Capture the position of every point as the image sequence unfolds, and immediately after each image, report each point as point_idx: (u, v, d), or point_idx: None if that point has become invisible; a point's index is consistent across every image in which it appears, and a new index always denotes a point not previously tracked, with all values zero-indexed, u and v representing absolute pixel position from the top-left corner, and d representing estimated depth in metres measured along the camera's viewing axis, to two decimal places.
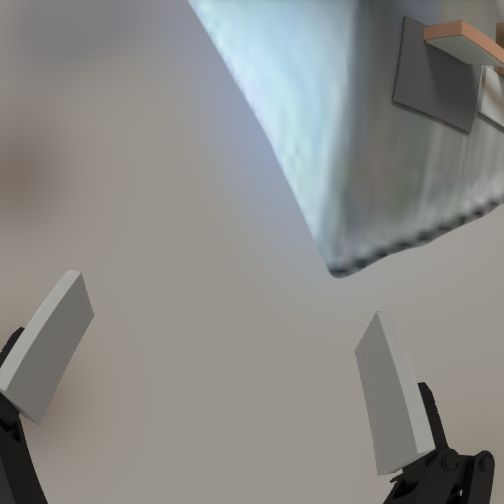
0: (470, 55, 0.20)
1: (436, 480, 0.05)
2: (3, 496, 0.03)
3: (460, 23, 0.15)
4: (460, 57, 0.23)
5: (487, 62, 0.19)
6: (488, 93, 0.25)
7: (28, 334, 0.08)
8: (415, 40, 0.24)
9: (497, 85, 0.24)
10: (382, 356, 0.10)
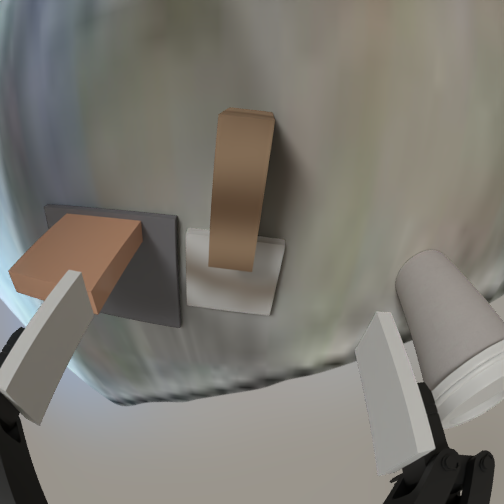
0: None
1: (436, 480, 0.05)
2: (3, 495, 0.03)
3: None
4: None
5: None
6: (197, 277, 0.25)
7: (28, 334, 0.08)
8: None
9: None
10: (382, 356, 0.10)
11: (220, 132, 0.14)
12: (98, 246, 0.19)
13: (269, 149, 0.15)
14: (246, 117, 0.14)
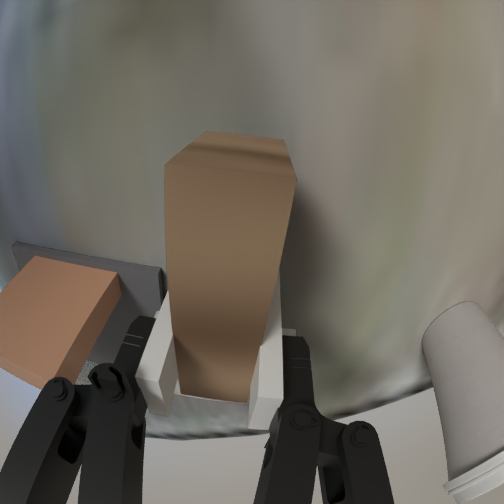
0: None
1: (291, 443, 0.06)
2: None
3: None
4: None
5: None
6: None
7: (165, 320, 0.10)
8: None
9: None
10: None
11: (172, 205, 0.07)
12: (63, 310, 0.14)
13: (281, 243, 0.07)
14: (229, 170, 0.06)
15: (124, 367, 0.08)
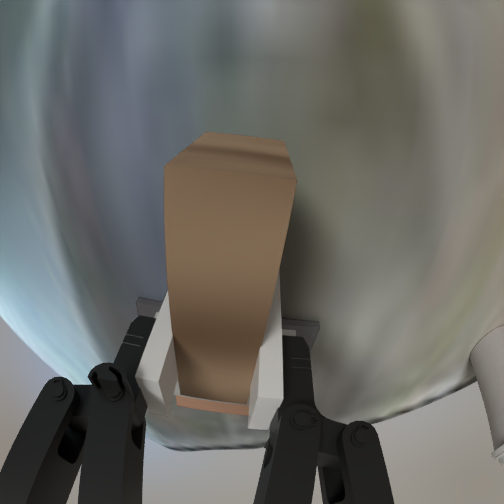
0: None
1: (291, 443, 0.06)
2: None
3: None
4: None
5: None
6: None
7: (165, 320, 0.10)
8: None
9: None
10: None
11: (171, 206, 0.07)
12: None
13: (281, 244, 0.07)
14: (228, 172, 0.06)
15: (124, 366, 0.08)
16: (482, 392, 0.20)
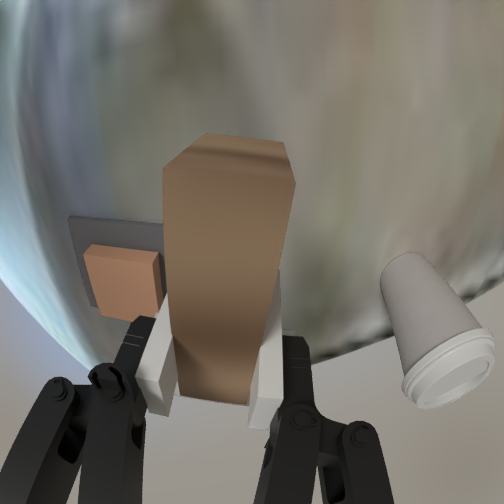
0: None
1: (291, 443, 0.06)
2: None
3: None
4: None
5: None
6: None
7: (165, 320, 0.10)
8: (85, 244, 0.28)
9: None
10: None
11: (170, 208, 0.07)
12: (140, 295, 0.28)
13: (280, 246, 0.07)
14: (227, 174, 0.06)
15: (124, 367, 0.08)
16: (391, 322, 0.26)
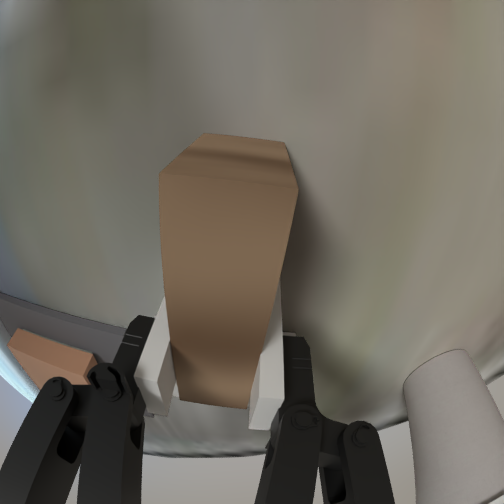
0: None
1: (292, 443, 0.06)
2: None
3: None
4: None
5: None
6: None
7: (164, 320, 0.10)
8: (12, 324, 0.17)
9: None
10: None
11: (167, 215, 0.06)
12: None
13: (282, 254, 0.07)
14: (226, 180, 0.06)
15: (123, 366, 0.08)
16: None
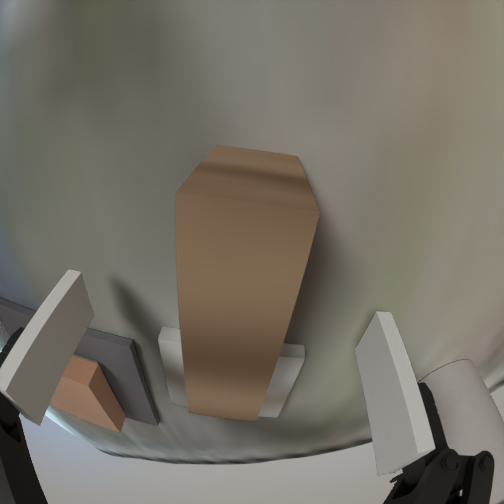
0: None
1: (436, 480, 0.05)
2: (3, 496, 0.03)
3: None
4: None
5: None
6: (181, 382, 0.17)
7: (28, 334, 0.08)
8: None
9: None
10: (382, 356, 0.10)
11: (183, 236, 0.06)
12: (86, 406, 0.17)
13: (300, 276, 0.07)
14: (246, 201, 0.06)
15: None
16: None
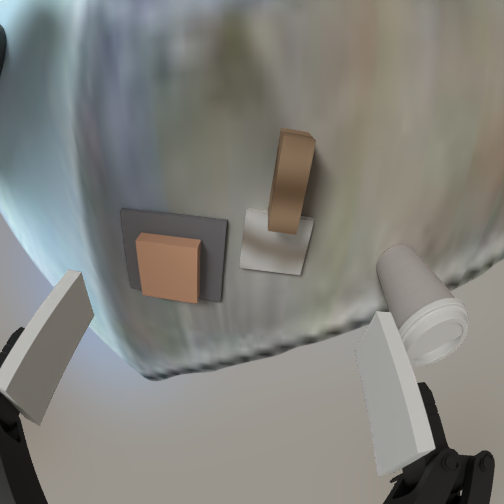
0: None
1: (436, 480, 0.05)
2: (3, 496, 0.03)
3: None
4: None
5: None
6: (250, 244, 0.35)
7: (28, 334, 0.08)
8: (134, 232, 0.36)
9: (267, 230, 0.34)
10: (382, 356, 0.10)
11: (283, 146, 0.25)
12: (183, 275, 0.36)
13: (312, 157, 0.25)
14: (299, 138, 0.24)
15: None
16: (385, 298, 0.33)
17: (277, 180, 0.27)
